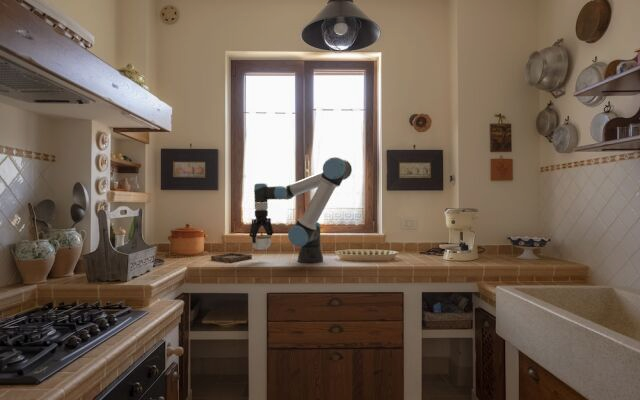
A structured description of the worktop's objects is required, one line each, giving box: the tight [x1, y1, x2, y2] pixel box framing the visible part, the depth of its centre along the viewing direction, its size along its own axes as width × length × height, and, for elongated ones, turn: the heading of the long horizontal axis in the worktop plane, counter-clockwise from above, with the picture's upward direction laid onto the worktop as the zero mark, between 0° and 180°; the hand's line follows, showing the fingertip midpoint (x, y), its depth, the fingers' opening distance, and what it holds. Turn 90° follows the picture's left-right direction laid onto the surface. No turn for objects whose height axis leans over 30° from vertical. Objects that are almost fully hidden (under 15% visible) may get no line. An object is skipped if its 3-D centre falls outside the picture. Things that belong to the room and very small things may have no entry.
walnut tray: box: [210, 252, 253, 264], centre depth 237 cm, size 17×17×2 cm
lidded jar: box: [256, 232, 272, 251], centre depth 230 cm, size 11×11×9 cm
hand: (261, 247), depth 230 cm, fingers closed on lidded jar, 11 cm apart
